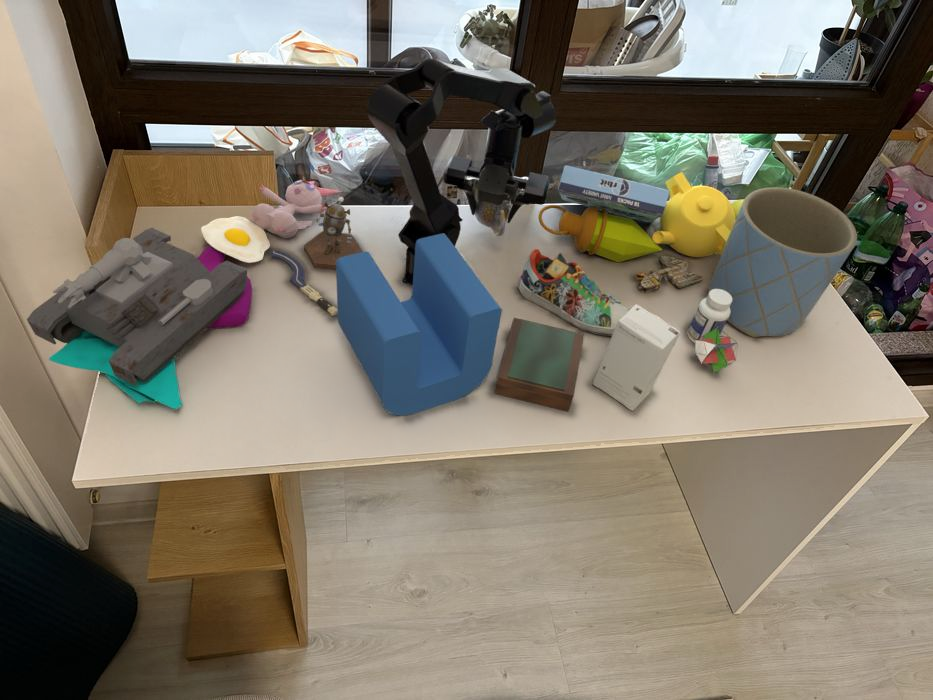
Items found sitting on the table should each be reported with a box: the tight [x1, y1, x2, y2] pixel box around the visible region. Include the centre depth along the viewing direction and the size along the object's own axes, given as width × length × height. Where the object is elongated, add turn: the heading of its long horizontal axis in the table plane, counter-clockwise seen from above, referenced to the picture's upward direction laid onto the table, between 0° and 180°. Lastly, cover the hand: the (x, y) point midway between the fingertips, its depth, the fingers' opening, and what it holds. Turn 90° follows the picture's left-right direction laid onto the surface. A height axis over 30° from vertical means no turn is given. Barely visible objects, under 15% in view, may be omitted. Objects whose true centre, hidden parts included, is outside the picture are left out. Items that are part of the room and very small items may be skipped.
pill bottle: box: [686, 289, 732, 344], centre depth 127 cm, size 5×5×10 cm
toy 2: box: [248, 179, 343, 239], centre depth 140 cm, size 15×7×20 cm
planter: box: [707, 187, 858, 338], centre depth 130 cm, size 19×19×20 cm
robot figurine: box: [303, 196, 364, 270], centre depth 131 cm, size 11×9×12 cm
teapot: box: [651, 171, 735, 258], centre depth 143 cm, size 20×18×11 cm
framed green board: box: [493, 317, 585, 413], centre depth 119 cm, size 12×14×4 cm
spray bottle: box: [196, 233, 253, 330], centre depth 126 cm, size 3×11×24 cm
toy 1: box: [26, 227, 248, 386], centre depth 111 cm, size 25×20×15 cm
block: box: [335, 233, 503, 416], centre depth 112 cm, size 18×18×18 cm
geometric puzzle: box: [693, 327, 739, 374], centre depth 124 cm, size 7×7×8 cm
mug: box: [474, 199, 513, 238], centre depth 138 cm, size 12×7×7 cm, turn 6°
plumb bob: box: [538, 204, 663, 263], centre depth 141 cm, size 9×9×25 cm
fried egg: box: [200, 215, 271, 264], centre depth 132 cm, size 12×12×1 cm
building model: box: [634, 255, 704, 294], centre depth 140 cm, size 15×9×2 cm, turn 128°
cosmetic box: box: [592, 303, 681, 411], centre depth 115 cm, size 8×6×15 cm
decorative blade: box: [269, 248, 338, 317], centre depth 130 cm, size 21×1×5 cm
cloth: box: [48, 330, 183, 410], centre depth 112 cm, size 26×14×2 cm, turn 66°
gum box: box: [557, 164, 670, 223], centre depth 143 cm, size 20×5×23 cm
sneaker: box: [517, 248, 630, 337], centre depth 128 cm, size 8×21×10 cm, turn 60°
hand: (490, 217), depth 139 cm, fingers closed on mug, 6 cm apart
